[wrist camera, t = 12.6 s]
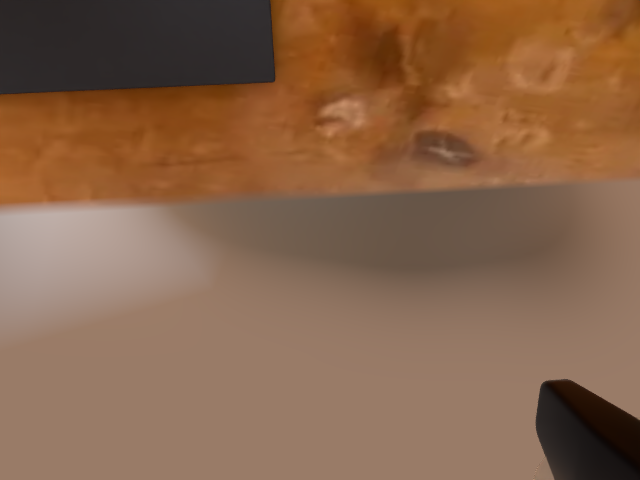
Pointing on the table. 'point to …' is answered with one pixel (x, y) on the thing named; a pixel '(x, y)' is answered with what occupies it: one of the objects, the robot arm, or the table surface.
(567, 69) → the table surface
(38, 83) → the grey mat
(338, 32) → the table surface
